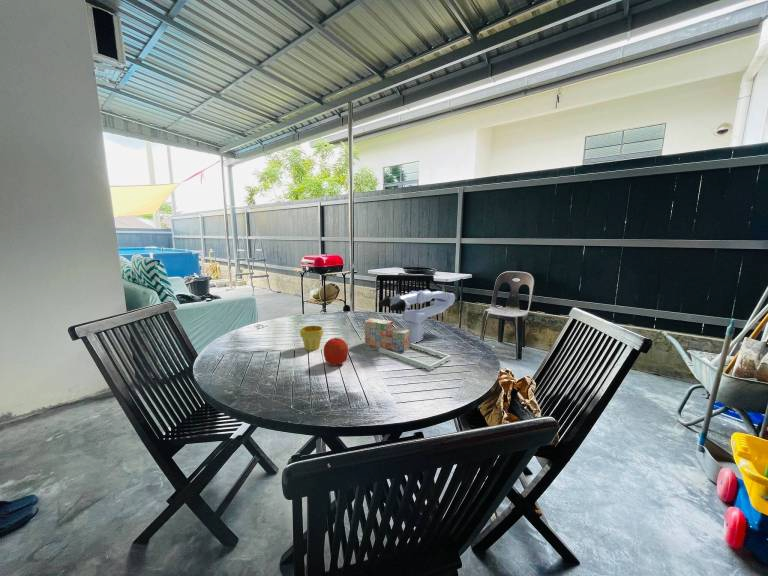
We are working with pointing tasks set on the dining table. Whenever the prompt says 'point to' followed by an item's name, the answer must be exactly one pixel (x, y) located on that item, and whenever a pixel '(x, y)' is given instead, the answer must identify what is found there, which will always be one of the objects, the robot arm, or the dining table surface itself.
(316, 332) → the plant pot
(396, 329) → the stack of blocks
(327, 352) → the apple
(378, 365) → the dining table surface
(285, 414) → the dining table surface
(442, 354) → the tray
